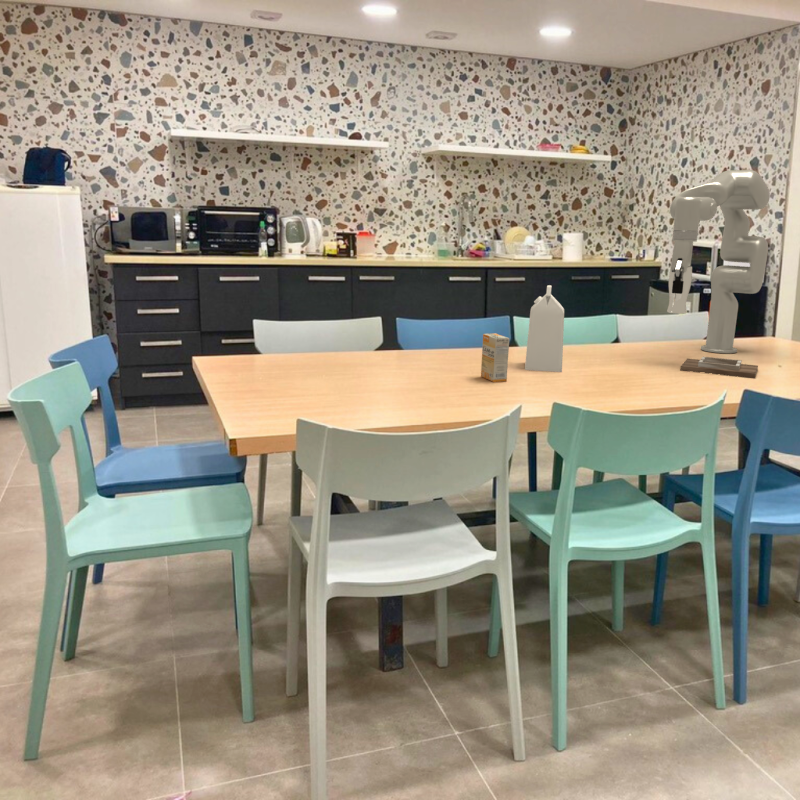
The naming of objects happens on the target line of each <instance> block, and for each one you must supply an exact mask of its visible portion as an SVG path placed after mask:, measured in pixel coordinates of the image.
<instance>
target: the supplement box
mask: <svg viewBox="0 0 800 800" xmlns="http://www.w3.org/2000/svg"><path fill="white" fill-rule="evenodd" d="M509 345H510V337H507V336H504V335H501V334H498V333H496V332H495V333H483V334H482V346H481V347H482V351H481V366H480V377H481V378H484V379H485V380H488V381H491V382H492V383H503V382H505V383H506V382H507V379H508V368H509V367H508V364H509V350H510V346H509Z"/></svg>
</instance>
